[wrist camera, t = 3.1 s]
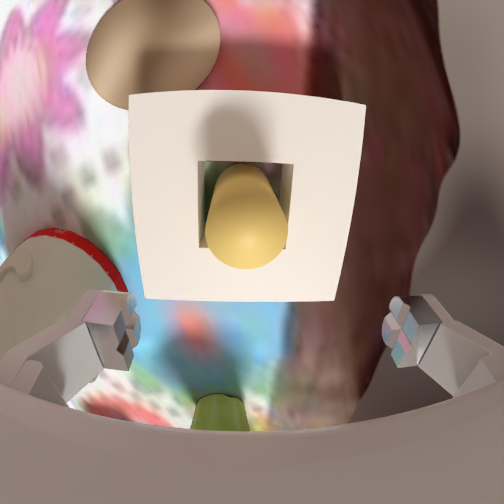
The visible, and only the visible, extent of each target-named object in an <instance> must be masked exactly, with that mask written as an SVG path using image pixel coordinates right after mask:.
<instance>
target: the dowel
mask: <svg viewBox="0 0 504 504" xmlns="http://www.w3.org/2000/svg"><path fill="white" fill-rule="evenodd" d="M287 236H288V224H287V220H286V217H285V215H284V213H283V211H282V208H281V206H280V204H279V202H278V200H277V198H276V196H275V194H274V192H273V190H272V187H271V185H270V183H269V181H268V179H267V177H266V176H265V174H264V173H263V172H262V171H261V170H260V169H259V168H257V167H255V166H253V165H250V164H244V163H241V164H235V165H232V166H230V167H228V168H226V169H225V170H224V171H223V172H222V173H221V174H220V176H219V177H218V179H217V182H216V185H215V189H214V193H213V197H212V201H211V205H210V209H209V213H208V217H207V222H206V226H205V237H206V242H207V244H208V247H209V249H210V251H211V252H212V253H213V255H214V256H215V257H216V258H217V259H218V260H220V261H221V262H222V263H224V264H226V265H228V266H230V267H234V268H238V269H254V268H258V267H261V266H264V265H266V264H268V263H270V262H271V261H272V260H274V259H275V258H276V257H277V256H278V255H279V254H280V253H281V251H282V250H283V248H284V246H285V244H286V241H287Z"/></svg>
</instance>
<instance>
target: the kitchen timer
mask: <svg viewBox="0 0 504 504" xmlns="http://www.w3.org/2000/svg"><path fill="white" fill-rule="evenodd" d="M89 289H96V290H107V291H117V292H128V290H127V288H126V286H125V284H124V281H123V279H122V277H121V275H120V273H119V271H118V270H117V269H116V267H115V266H114V265H113V264H112V262H111V261H110V260H109V258H108V257H107V256H106V255H105V254H104V253H103V252H102V251H101V250H99V249H98V248H97V247H96V246H95V245H94V244H93V243H91V242H90V241H89V240H87V239H85V238H83V237H81V236H79V235H77V234H75V233H73V232H72V231H67V230H62V229H57V228H50V229H44V230H39V231H37V232H36V233H34V234H33V235H31V236H30V237H28V238H27V239H26V240H24V241H23V242H22V243H21V244H20V245H19V246H18V247H17V248H16V249H15V250H14V252H13V253H12V254H11V255H10V256H9V257H8V258H7V259H6V260H5V261H4V262H3V264H2V265H1V266H0V360H1V359H2V357H3V356H4V354H5V353H6V351H8V350H9V349H11V348H13V347H14V346H16V345H18V344H20V343H21V342H23V341H25V340H27V339H28V338H30V337H32V336H34V335H35V334H37V333H39V332H41V331H43V330H44V329H46V328H48V327H50V326H52V325H53V324H55V323H57V322H59V321H61V320H62V319H64V320H67V319H68V317H69V316H70V314H71V313H72V311H73V310H74V308H75V307H76V305H77V304H78V302H79V301H80V299H81V298H82V297H83V295H84V294H85V292H86V291H87V290H89ZM97 376H98V375H97ZM97 376H96V377H95V378H93V379H92V380H91V381H90V382H89V383H93V382H94V381H95V380H96V378H97Z"/></svg>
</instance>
